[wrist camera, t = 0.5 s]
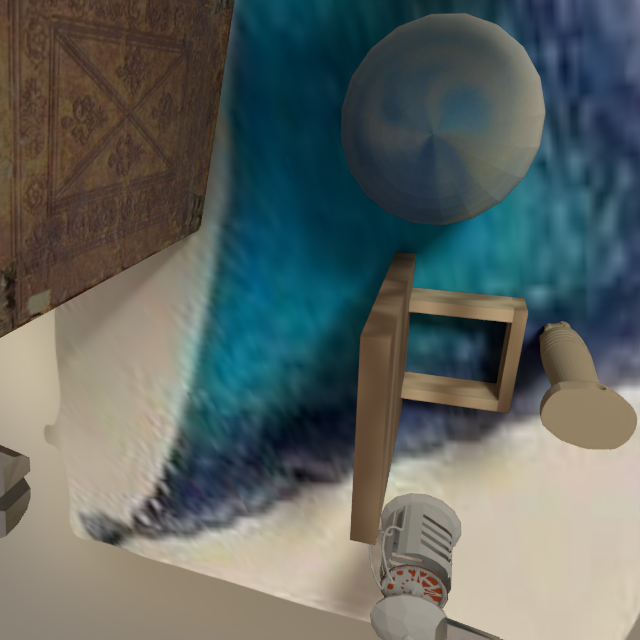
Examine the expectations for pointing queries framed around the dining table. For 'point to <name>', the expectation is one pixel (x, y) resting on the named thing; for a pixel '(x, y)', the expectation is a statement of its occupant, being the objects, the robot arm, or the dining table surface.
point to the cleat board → (416, 377)
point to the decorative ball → (442, 119)
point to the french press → (414, 567)
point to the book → (101, 139)
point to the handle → (580, 395)
